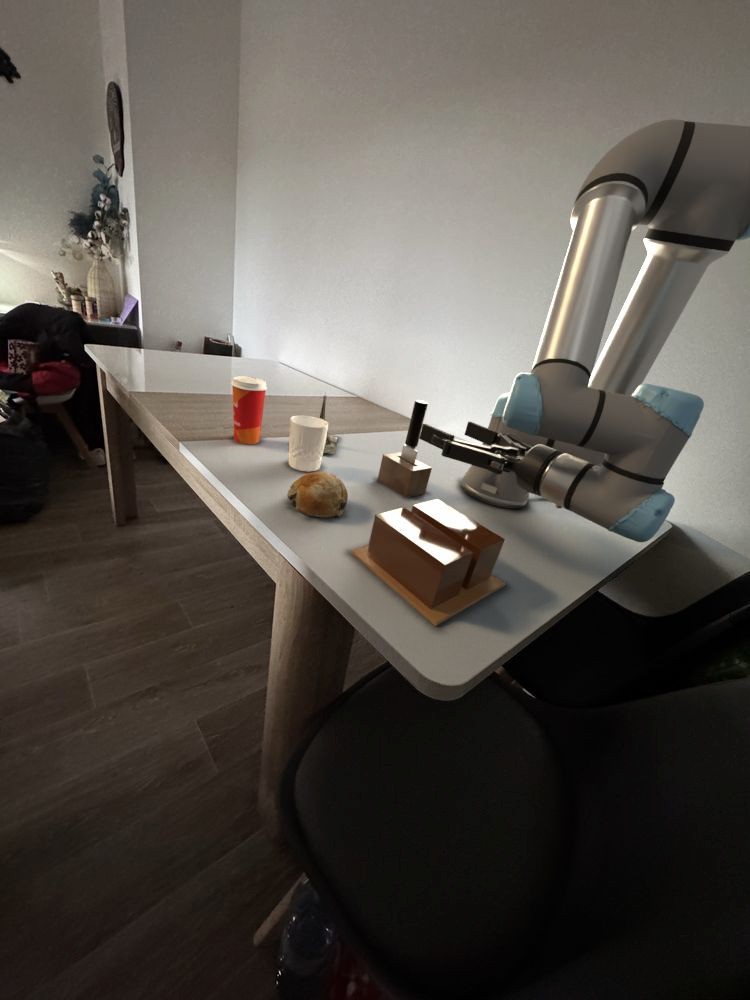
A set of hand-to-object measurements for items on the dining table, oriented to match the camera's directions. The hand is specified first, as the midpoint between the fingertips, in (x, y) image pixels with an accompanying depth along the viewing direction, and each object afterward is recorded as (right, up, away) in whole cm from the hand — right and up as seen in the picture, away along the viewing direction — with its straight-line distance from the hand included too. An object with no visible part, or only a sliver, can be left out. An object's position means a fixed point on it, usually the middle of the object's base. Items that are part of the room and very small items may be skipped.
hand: (446, 429), depth 73 cm
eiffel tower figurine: (-28, +1, +26) cm, 38 cm away
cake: (-5, -24, -15) cm, 29 cm away
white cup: (-29, -6, +12) cm, 32 cm away
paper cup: (-44, +1, +19) cm, 48 cm away
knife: (-8, -10, +11) cm, 17 cm away
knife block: (-8, -10, +11) cm, 17 cm away
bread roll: (-24, -14, -3) cm, 28 cm away
